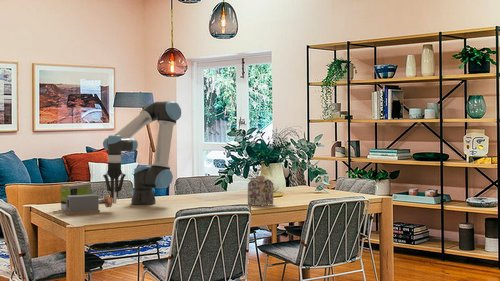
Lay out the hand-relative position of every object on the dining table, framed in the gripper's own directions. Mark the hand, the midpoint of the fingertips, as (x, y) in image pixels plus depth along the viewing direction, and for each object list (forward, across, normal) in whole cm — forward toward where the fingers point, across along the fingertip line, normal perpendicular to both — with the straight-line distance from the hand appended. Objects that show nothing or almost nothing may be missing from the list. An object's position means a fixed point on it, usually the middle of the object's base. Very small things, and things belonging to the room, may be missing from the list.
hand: (114, 203), depth 386 cm
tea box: (+5, +16, -20) cm, 26 cm away
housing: (+5, +18, 0) cm, 19 cm away
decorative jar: (+5, -88, +15) cm, 90 cm away
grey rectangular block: (+2, +13, 0) cm, 13 cm away
